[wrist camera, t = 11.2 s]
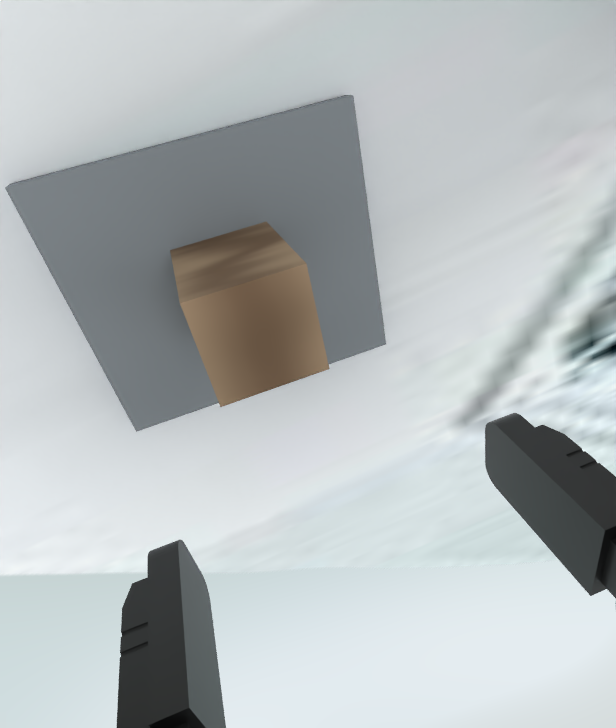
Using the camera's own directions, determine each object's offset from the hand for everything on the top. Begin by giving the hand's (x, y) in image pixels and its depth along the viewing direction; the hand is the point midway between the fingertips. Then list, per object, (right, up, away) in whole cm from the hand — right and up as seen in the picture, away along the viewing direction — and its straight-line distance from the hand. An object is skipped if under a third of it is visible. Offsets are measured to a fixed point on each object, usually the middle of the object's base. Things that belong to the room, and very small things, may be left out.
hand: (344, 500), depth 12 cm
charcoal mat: (-5, +8, +14) cm, 17 cm away
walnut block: (-5, +8, +13) cm, 16 cm away
